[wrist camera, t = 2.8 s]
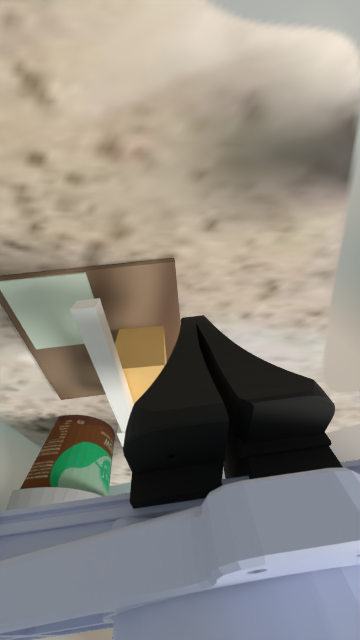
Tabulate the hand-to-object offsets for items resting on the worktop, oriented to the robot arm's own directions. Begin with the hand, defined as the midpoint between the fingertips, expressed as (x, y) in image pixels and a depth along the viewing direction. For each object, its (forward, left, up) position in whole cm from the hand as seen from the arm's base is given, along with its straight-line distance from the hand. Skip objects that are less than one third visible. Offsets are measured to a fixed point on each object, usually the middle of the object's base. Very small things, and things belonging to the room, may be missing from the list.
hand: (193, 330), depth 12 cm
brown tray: (+7, +5, -7) cm, 11 cm away
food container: (+13, +20, -7) cm, 25 cm away
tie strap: (+6, +4, -1) cm, 7 cm away
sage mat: (+10, +1, -7) cm, 13 cm away
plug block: (+4, +5, -6) cm, 9 cm away
